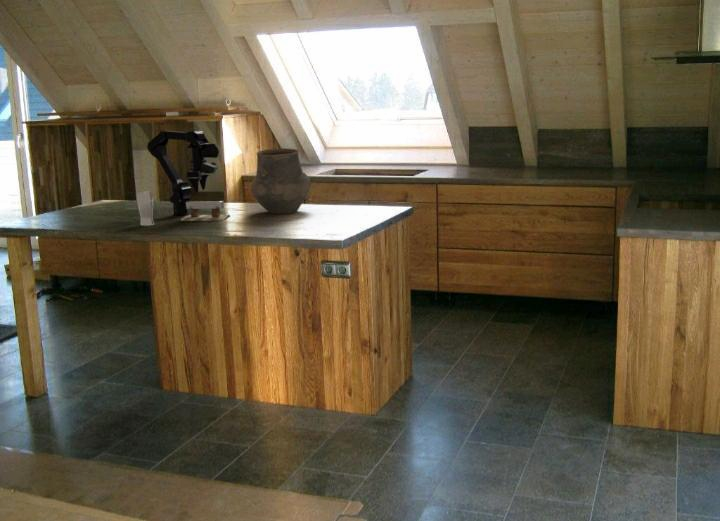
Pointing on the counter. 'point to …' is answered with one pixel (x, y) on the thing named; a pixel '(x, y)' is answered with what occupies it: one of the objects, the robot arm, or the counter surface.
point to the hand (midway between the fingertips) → (200, 190)
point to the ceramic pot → (280, 181)
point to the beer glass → (145, 207)
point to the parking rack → (205, 216)
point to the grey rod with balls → (205, 205)
